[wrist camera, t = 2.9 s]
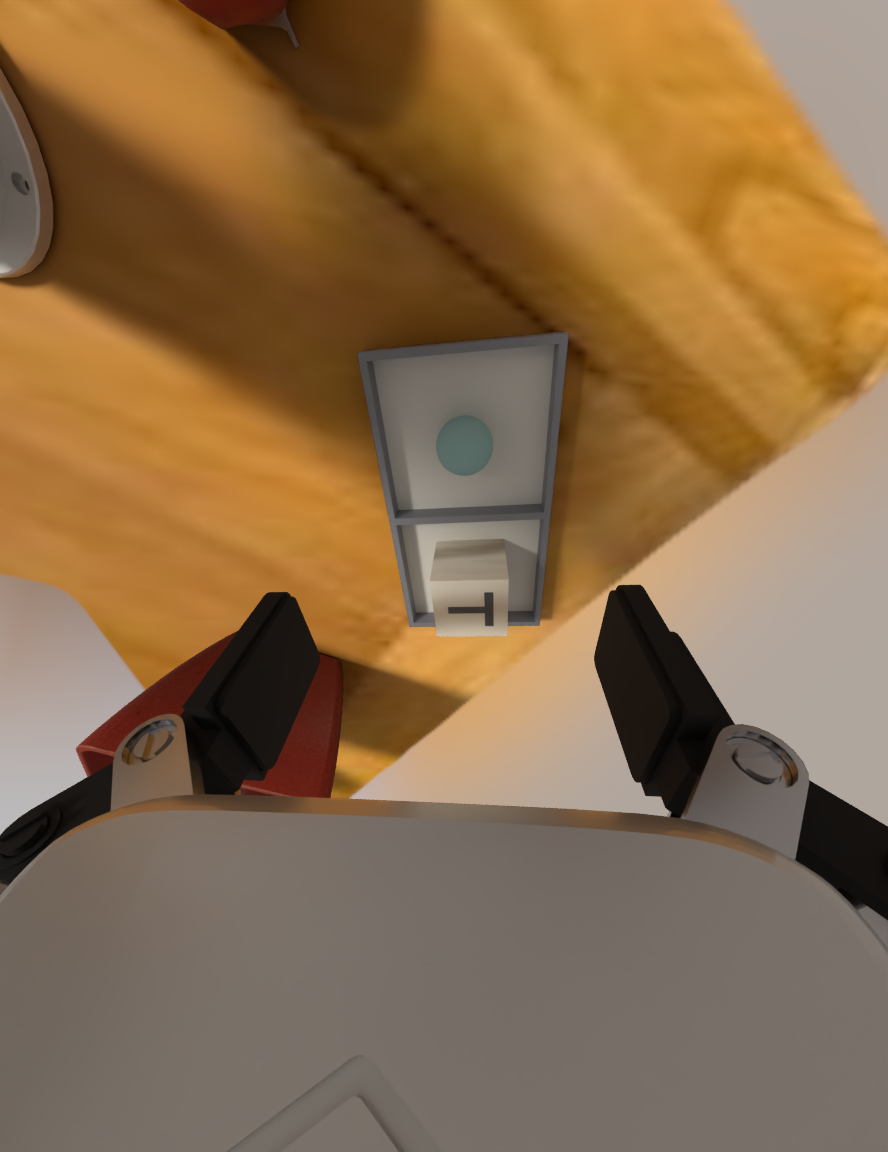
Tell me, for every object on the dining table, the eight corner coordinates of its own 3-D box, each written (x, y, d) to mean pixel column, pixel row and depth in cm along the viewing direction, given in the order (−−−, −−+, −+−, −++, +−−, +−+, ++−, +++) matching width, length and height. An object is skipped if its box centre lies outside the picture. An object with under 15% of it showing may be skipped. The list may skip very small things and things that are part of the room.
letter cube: (436, 541, 32) (429, 581, 28) (504, 538, 32) (509, 579, 27) (442, 592, 36) (437, 636, 31) (503, 591, 35) (507, 636, 30)
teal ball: (436, 411, 26) (430, 425, 23) (491, 407, 26) (494, 421, 22) (440, 466, 28) (436, 486, 25) (492, 463, 28) (494, 483, 25)
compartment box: (365, 350, 24) (357, 353, 23) (562, 331, 23) (568, 333, 21) (412, 613, 38) (409, 626, 37) (536, 611, 37) (539, 625, 35)
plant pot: (208, 596, 39) (67, 747, 26) (376, 650, 42) (329, 808, 29) (208, 692, 50) (109, 832, 37) (341, 729, 53) (296, 870, 40)
